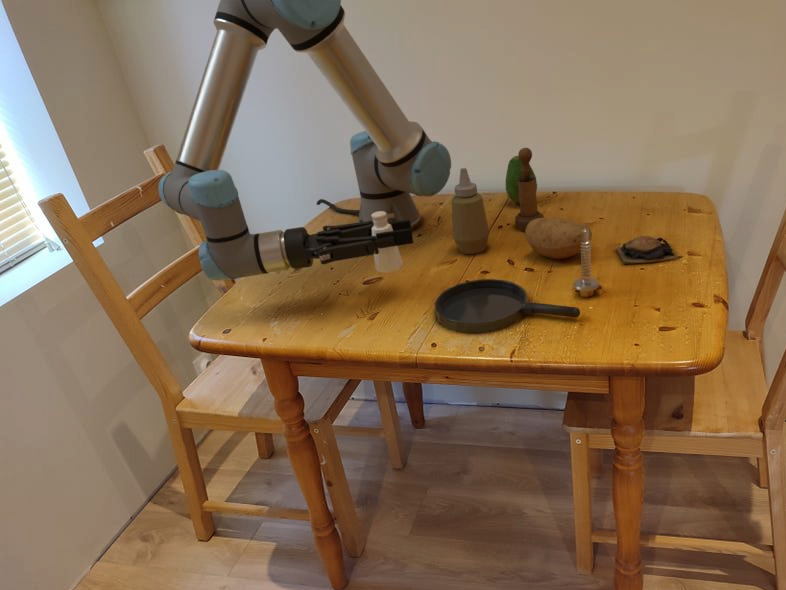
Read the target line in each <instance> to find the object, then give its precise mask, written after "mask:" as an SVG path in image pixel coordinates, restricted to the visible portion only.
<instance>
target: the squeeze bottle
mask: <svg viewBox="0 0 786 590" xmlns="http://www.w3.org/2000/svg"><path fill="white" fill-rule="evenodd" d="M454 194H455V195H454V196H453V197H452V199H451V224H452V225H451V227H452V239H453V240H454V242H455V244H456V247H457V248H458V251H459V252H460V253H462V254H465V255H475V254H479V253H483V252H484V251H485V250H486V248H487V245H488V242H489V241H488V240H489V237H490V236H489V235H490V229H489V224H488V218H487V215H486V209H485V205H484V199H483V196H482V195H481V194H480V193H479V192H478V187H477V184H476V183H474V182H472V181H471V179H470V175H469V172H468V169H467V168H466V167H461V168H460V171H459V183H458V184H456V185H455V186H454Z"/></svg>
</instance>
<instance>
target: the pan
mask: <svg viewBox="0 0 786 590" xmlns="http://www.w3.org/2000/svg"><path fill="white" fill-rule="evenodd" d="M524 302H529V297H528V293H527V291H526V289H524V288H523V287H522V286H521V285H519V284H518V283H515V282H513V281H508V280H505V279H497V278H485V279H484V278H482V279H476V280H475V279H474V280H468V281H464V282H461V283H458V284H456V285H454V286H451V287H449V288H447V289H445V290H444V291H442V293H440V294H439V295H438V296H437V298H436V300H435V302H434V311H435V315H436V319H437V321H438V322H439V324H440V325H442V326H443V327H445V328H446V329H450V330H452V331H454V332H459V333H467V334H482V333H483V334H484V333H489V332H495V331H499V330H502V329H506V328H508V327H511V326H512V325H514V324H516V323H517V322H519V321H520V320H522V319H523V318H524V316H526V314H524V313H523V312H522V307H523V306H522V304H523V303H524Z"/></svg>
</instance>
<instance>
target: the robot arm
mask: <svg viewBox="0 0 786 590" xmlns="http://www.w3.org/2000/svg"><path fill="white" fill-rule="evenodd" d="M341 4H342V0H219V3H218V6H217V10H216V13H215V14H214V15H215V16H214V18H213V25H214V27H215V29H216V33H215V35H214V36H215V37H214V39H213V42H212V46H211V49H210V52H209V55H208V58H207V61H206V65H205V68H204V71H203V74H202V77H201V80H200V83H199V86H198V89H197V93H196V95H195V98H194V99H195V100H194V102H193V105H192V108H191V112H190V115H189V118H188V122H187V125H186V127H185V130H184V133H183V137H182V139H181V143H180V146H179V149H178V153H177V155H176V159H175V162H174V165H173V168H172V171H169V172H168V173H165V174H164V175H163V177H161V179H159V183H158V187H157V188H158V190H157V191H158V195H159V198H160V200H161V201H162V202H163V204H164V205H165V206H167V207H168V208H170V209H171V210H172V211H174V212H175V213H177V214H180V215H185V216H187V217H190V218H192V219H193V220H196V221H198V222H200V224H201V226H202V230H203V232H204V235H205V239H206V241H202V242H201V243H200V244H199V246H198V258H199V260H200V261H199V263H200V267H201V269H202V271H203V274H204V275H205V276H206V277H207V278H208V279H209V280H211V281H227V280H238V279H241V278H248V277H253V276H258V275H266V274H271V273H276V274H278V275H279V274H281V273H282V272H285V271H289V270H290V269H291V268H292V269H293V270H301V269H308V268H310V267H312V266H313V264H314V259H315V260H318V259H319V261H320V265H327V264H330V263H333V262H339V261H343V260H349V259H356V258H363V257H368V256H369V257H370V256H374V254H378V253H379V250H378V248H386V247H392V246H398V247H399V246H405V245H412V244H414V238H413V230H414V229H415V228H417V227H418V226H419V225H420V224H421V220H422V219H421V214H420V211H419V209H418V208H417V205H416V203H415V201H414V199H413V197H412V195H415V196H417V197H432V196H435V195H437V194H439V193H440V192H441V191H442V190H443V189H444V188H445V186H446V185H447V183H448V181H449V178H450V175H451V168H452V158H451V155H450V151H449V150H448V148H447V147H446V146H445V145H444V144H443V143H440V142H439V141H433V140H431V139H430V138H429V136H428V135H427V133H426V131H425V130H424V128H423V127H422V125H420V123H419V122H416V121H410V120H409V119H408V118H407V116H406V114H405V113H404V112H403V110H402V109H401V107H400V106H399V104H398V103H397V102H396V99H394V97H393V95H392V93H391V92H390V91H389V90H388V87H386V85H385V83H384V82H383V81H382V78H380V76H379V75H378V72H376V70H375V69H374V68H373V65H372V64H371V63H370V61H369V59H367V57H366V56H365V54H364V52H363V51H362V50H361V49H360V46H359V45H358V44H357V42H356V41H355V39H354V37H353V36H352V35H351V33H350V32H349V30H348V29H347V27H346V26H345V18H346V11H345V9H344V7H343V6H342V5H341ZM276 29H277V30H278V31H279V32H280V34H281V35H282V36H283V38H284V39H285V40H286V42H287V43H288V44H289V46H291V48H292V49H293V51H294V52H297V53H304V54H306V55H308V57H309V59H310V60H311V62H313V64H314V66H316V68H317V69H318V70H319V72H320V73H321V74H322V76H323V77H324V78H325V80H326V81H327V82H328V83H329V85H330V86H331V87H332V89H333V90H334V92H335V93H336V94H337V95H338V97H339V98H340V99H341V101H342V102H343V103H344V105H345V106H346V107H347V109H348V110H349V112H350V113H351V114H352V115H353V116H354V118H355V120H357V123H359V125H360V126H361V128H362V129H363V131H360V132H357V133H355V134H354V135H352V136H351V137H350V140H349V147H350V148H349V149H350V155H351V157H352V163H353V168H354V172H355V176H356V181H357V186H358V190H359V195H360V205H359V209H347V208H341V207H337V206H336V205H335V204H334V203H332V202H330V201H328V200H326V199H323V198H322V199H321V198H320V199H318V200H317V202H316V205H317V206H320V205H321V204H324V205H326V206H327V207H330V208H332V209H333V210H334V211H335V212H337V213H342V214H352V215H353V214H354V215H358V222H351V223H345V224H336V225H324V226H322V230H321V231H320V230H319V231H317V232H315V233H312V234H309V233H308V230H307V229H306V228H305V227H304V226H300V227H293V228H286V229H285V230H284V231H283V230H282V229H277V230H271V231H264V232H258V233H250V229H249V226H248V224H247V221H246V217H245V214H244V210H243V207H242V204H241V200H240V197H239V191H238V188H237V187H236V185H235V183H234V180H233V177H232V175H231V174H230V173H229V172H228V171H226V170H224V169H220V168H221V164H222V162H223V158H224V155H225V152H226V150H227V146H228V143H229V140H230V137H231V134H232V130H233V128H234V125H235V123H236V122H235V121H236V119H237V116H238V113H239V110H240V107H241V103H242V101H243V98H244V95H245V92H246V89H247V87H248V86H247V85H248V83H249V80H250V77H251V74H252V70H253V67H254V64H255V62H256V59H257V55H258V52H259V51H261V50H264V49H266V47H267V45H268V41H269V38H270V36H271V35H272V33H273V32H274V31H275V30H276ZM378 211H384V212H386V217H387V222H388V224H390V225H391V226H392V229H393V231H389V232H383V233H376V236H372V227H373V226H374V223H373V219H372V216H371V215H372V214H373V213H375V212H378ZM376 237H377V238H376ZM374 251H375V252H374Z"/></svg>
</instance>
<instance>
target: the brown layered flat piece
mask: <svg viewBox="0 0 786 590" xmlns="http://www.w3.org/2000/svg"><path fill="white" fill-rule="evenodd" d="M616 252H617V253H618V255H619V257H620V259H621V261H622V263H623V265H625V264H645V263H646V264H647V263H656V262H659V263H661V262H664V261H665V262H666V261H674V260H676V255H675V253H674V252H673V248H672V247H671V245H670V244H669V243H668V241H666V239H664V238H662V237H657V238H655V237H653V236H649V235H641V236H636V237H634V238H632V239H630V240H628V241H627V242H625V243H623V244H622V246H618V247H616Z"/></svg>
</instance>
